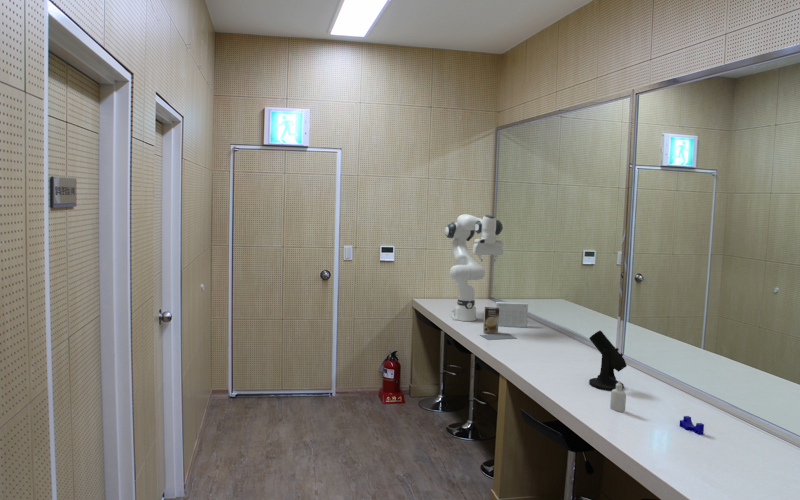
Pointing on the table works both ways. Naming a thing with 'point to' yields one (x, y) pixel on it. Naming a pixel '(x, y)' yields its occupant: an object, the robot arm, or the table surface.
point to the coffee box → (491, 320)
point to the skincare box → (512, 314)
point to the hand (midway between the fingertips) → (487, 261)
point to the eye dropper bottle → (618, 398)
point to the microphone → (607, 363)
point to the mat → (498, 336)
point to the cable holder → (691, 425)
